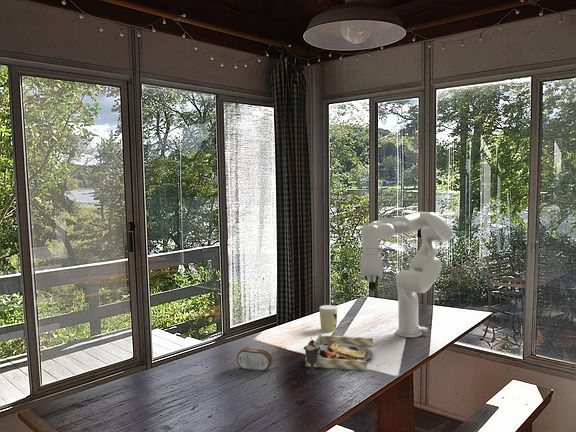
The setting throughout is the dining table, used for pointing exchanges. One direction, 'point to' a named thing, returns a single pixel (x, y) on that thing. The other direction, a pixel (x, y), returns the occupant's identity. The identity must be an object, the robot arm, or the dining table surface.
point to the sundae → (312, 356)
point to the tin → (254, 359)
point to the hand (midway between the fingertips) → (372, 290)
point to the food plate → (345, 352)
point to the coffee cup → (328, 318)
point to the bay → (341, 362)
